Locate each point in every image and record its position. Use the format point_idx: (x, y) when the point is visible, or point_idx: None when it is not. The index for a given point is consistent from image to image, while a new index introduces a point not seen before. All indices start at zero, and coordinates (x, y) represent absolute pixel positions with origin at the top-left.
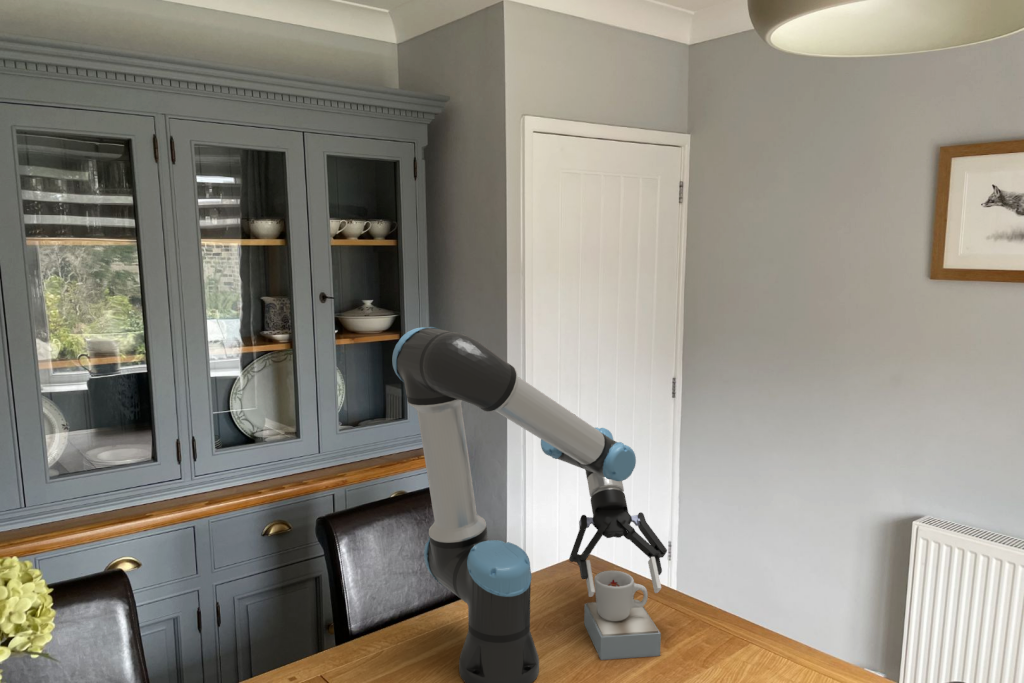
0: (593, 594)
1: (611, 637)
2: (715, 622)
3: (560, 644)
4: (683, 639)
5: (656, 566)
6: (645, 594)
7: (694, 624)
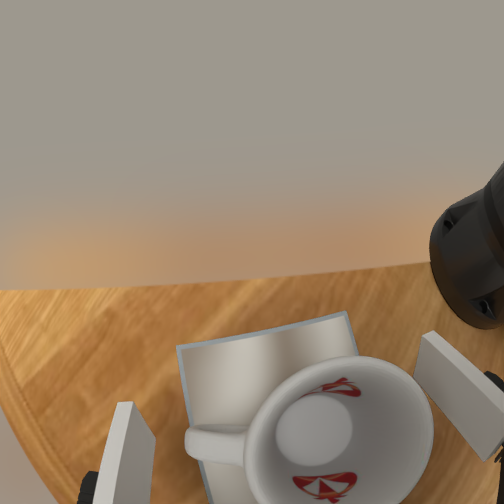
0: (417, 359)
1: (318, 317)
2: (58, 473)
3: None
4: None
5: (97, 486)
6: (195, 427)
7: None
